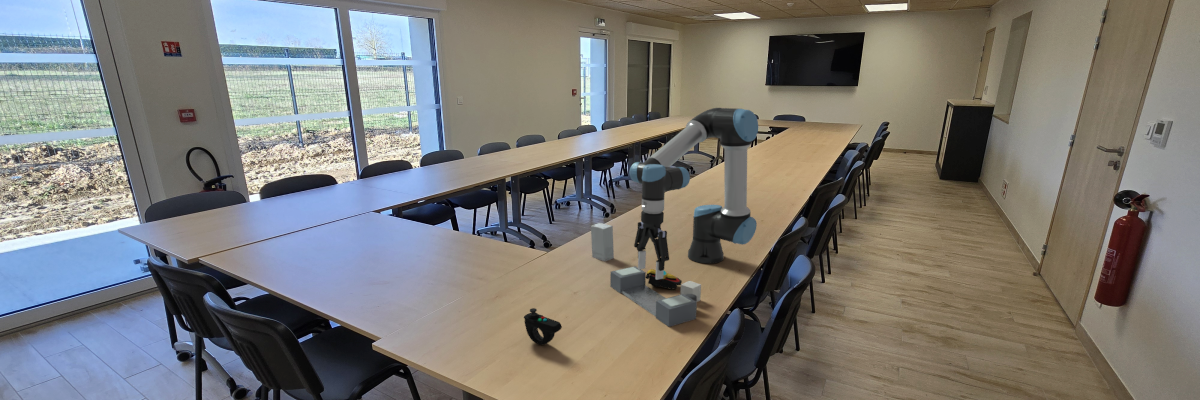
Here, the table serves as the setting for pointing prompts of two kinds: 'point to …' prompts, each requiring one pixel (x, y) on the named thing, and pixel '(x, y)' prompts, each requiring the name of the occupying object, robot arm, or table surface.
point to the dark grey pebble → (692, 296)
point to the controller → (540, 327)
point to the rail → (643, 297)
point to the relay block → (691, 289)
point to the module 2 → (676, 310)
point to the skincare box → (602, 241)
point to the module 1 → (627, 278)
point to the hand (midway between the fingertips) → (650, 273)
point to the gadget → (663, 280)
